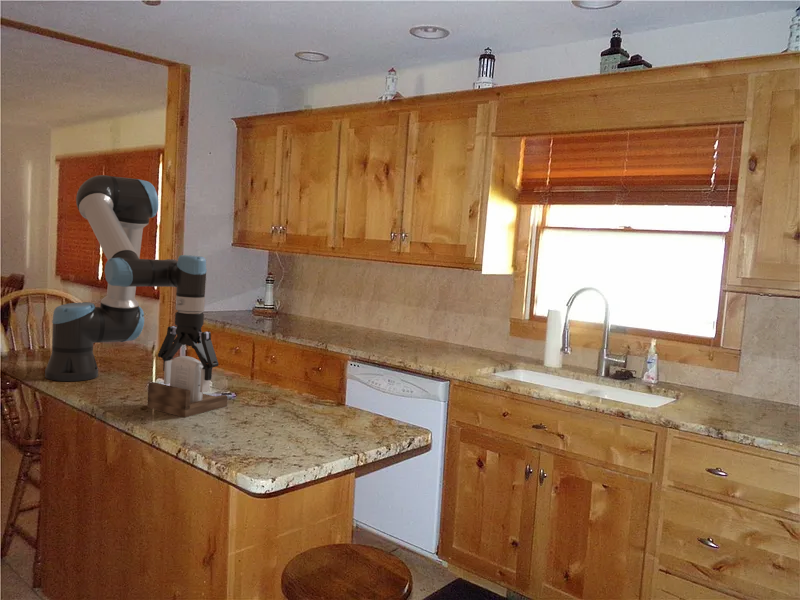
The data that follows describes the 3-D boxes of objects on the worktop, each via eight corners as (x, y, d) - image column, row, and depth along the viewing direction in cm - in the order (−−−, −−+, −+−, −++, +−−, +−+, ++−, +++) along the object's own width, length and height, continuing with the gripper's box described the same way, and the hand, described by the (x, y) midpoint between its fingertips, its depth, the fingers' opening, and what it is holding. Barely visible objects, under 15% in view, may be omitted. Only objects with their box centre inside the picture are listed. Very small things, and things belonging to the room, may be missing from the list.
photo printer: (204, 402, 180) (207, 358, 179) (193, 405, 176) (195, 360, 175) (179, 395, 185) (181, 353, 184) (166, 398, 181) (168, 354, 180)
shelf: (147, 407, 177) (148, 382, 177) (190, 397, 192) (191, 374, 191) (185, 417, 171) (186, 391, 171) (226, 406, 185) (228, 382, 185)
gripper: (146, 307, 180) (143, 382, 182) (214, 317, 169) (210, 397, 171) (167, 306, 187) (164, 378, 189) (234, 316, 176) (230, 392, 178)
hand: (186, 387), depth 180 cm, fingers open, 13 cm apart
